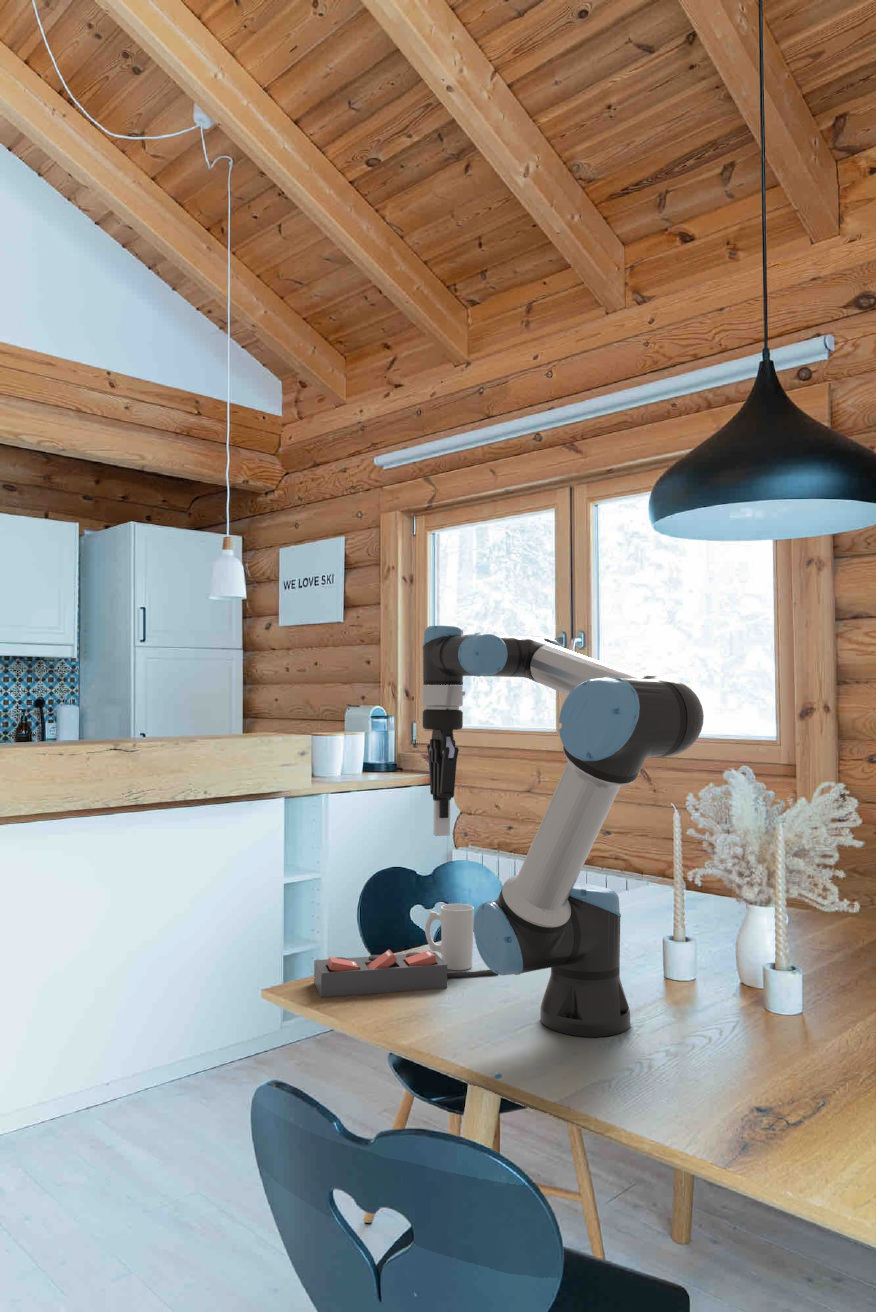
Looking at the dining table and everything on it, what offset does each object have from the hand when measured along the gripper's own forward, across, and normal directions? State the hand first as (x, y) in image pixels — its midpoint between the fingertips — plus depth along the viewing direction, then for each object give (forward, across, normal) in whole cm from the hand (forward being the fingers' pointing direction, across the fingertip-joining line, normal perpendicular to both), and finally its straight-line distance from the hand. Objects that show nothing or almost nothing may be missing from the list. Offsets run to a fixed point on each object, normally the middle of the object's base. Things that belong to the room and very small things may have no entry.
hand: (441, 834), depth 177 cm
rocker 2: (+25, +7, +10) cm, 27 cm away
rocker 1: (+25, +7, +17) cm, 31 cm away
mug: (+30, +18, -7) cm, 35 cm away
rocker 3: (+25, +7, +2) cm, 26 cm away
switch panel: (+29, +9, +3) cm, 31 cm away
